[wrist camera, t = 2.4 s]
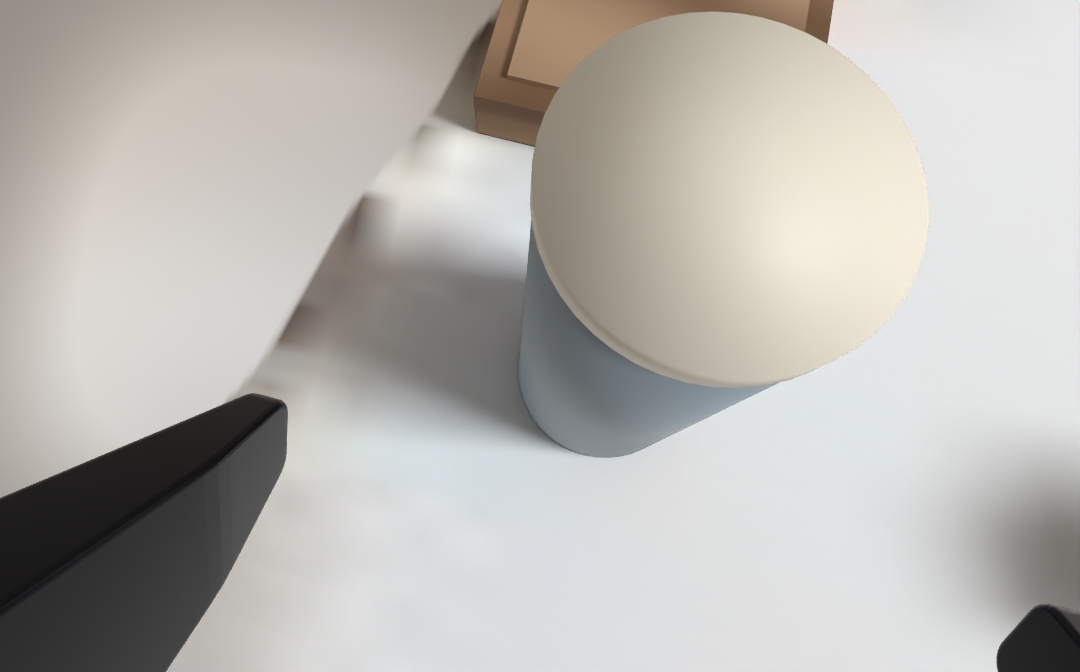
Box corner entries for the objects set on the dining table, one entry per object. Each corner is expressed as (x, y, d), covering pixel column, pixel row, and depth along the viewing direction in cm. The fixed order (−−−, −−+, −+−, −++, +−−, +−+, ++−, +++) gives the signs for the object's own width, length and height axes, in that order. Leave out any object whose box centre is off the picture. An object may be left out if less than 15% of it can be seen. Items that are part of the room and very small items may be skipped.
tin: (532, 473, 20) (570, 410, 8) (504, 303, 21) (503, 33, 9) (705, 443, 20) (982, 344, 8) (668, 279, 21) (865, -8, 10)
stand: (780, 205, 22) (810, 171, 20) (476, 132, 22) (473, 91, 20) (821, -45, 25) (851, -99, 22) (548, -109, 25) (552, -168, 23)
